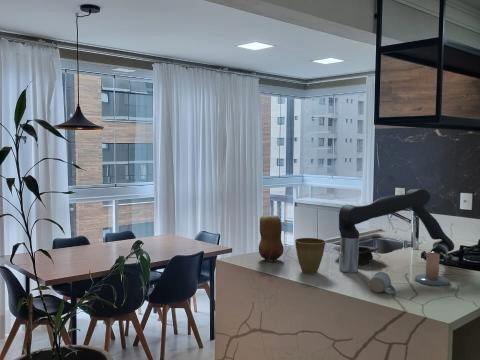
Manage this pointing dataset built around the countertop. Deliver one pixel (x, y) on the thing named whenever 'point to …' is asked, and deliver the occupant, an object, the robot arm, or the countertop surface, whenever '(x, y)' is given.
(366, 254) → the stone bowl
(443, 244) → the robot arm
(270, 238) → the butternut squash
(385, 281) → the ceramic mug
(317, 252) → the plant pot
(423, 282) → the slate dish
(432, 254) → the canister
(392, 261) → the countertop surface
